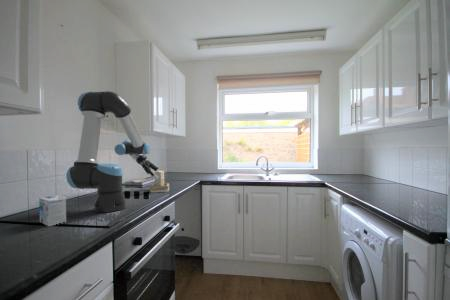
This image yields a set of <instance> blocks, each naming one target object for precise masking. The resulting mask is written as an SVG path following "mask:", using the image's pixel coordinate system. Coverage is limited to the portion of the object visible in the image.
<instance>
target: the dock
mask: <svg viewBox="0 0 450 300" xmlns="http://www.w3.org/2000/svg"><path fill="white" fill-rule="evenodd" d="M169 191H170V183H167V182H166V183H165V182H164V186H155V183H151V185H150V186H149V193H152V194H153V193H168V192H169Z"/></svg>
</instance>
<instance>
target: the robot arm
mask: <svg viewBox="0 0 450 300" xmlns="http://www.w3.org/2000/svg"><path fill="white" fill-rule="evenodd" d="M77 106H78V110H79V111H80V112H81V115H82V116H83V123H82V129H81V136H80V142H79V151H78V157H77V159H76V160H74V162H73V165H72V166H70V167H69V169H67V171H66V174H65V175H66V177H65V178H66V181H67V183H68V185H69V186H70V187H71V188H72V189H79V190H84V189H85V190H86V189H87V190H88V189H93V190H96V189H97V195H96V199H95V201H94V205H93V212H95V213H111V212H117V211H122V210H124V209H125V208H127V202H126V198H125V196H124V194H123V171H122V167H121V165H119V164H115V163H99V162H98V161H97V159H98V150H99V143H100V142H99V141H100V135H101V126H102V120H103V119H105V118H106V113H107V114H108V113H111V114H113V115H114V117H115V118H116V119H118V121H119V122H120V125H121V126H122V129H123V130H124V132H125V135H126V136H127V138H128V139H125V140H124V141H123V142H122V143H118V144H116V145H115V146H114V152H115V154H116V155H119V156H123V155H129V156H130V157H131V158H132V160H134V161H135V162H136V163H137V164H139V165H140V166H141V167H142V169H144V171H145V173H146V174H147V175H150V176H151V177H152V178H153V179H154V181H155V180H157V179H158V178H159V177H158V176H157V175H156V174H155V172H156V171H160V169H159V167H158V166H156V165H155V164H154V163H152V162H151V161H150V160H149V159H148V160H147V158H148V157H147V155H149V153H150V151H151V145H150V144H149V143H147V142H144V140H143V137H142V135H141V133H140V131H139V128H138V126H137V124H136V123H135V119H134V118H133V116H132V114H131V113H132V109H131V107H130V105H129V104H128V103H127V101H126V100H125V99H124V98H123V97H122V96H120V95H119V94H117V93H115V92H113V91H111V90H110V91H109V90H108V91H107V90H106V91H88V92H82V93H81V94H80V95H79V96H78V99H77Z"/></svg>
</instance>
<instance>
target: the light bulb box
mask: <svg viewBox="0 0 450 300" xmlns="http://www.w3.org/2000/svg"><path fill="white" fill-rule="evenodd" d="M66 199H67V197H65V196H60V195H57V194H53V195H50V196H43V197H39V199H38V200H39V202H38V203H39V204H38V205H39V223H42V224H43V225H45V226H47V227H52V226H56V224H57V225H60V224H59V223H61V224H64V223H63V222H65V223H67V200H66Z"/></svg>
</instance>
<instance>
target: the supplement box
mask: <svg viewBox="0 0 450 300" xmlns="http://www.w3.org/2000/svg"><path fill="white" fill-rule="evenodd" d="M154 173H155V174H156V175H157V176H158V177H159V178H158V179H157V180H155V179H154V184H155V186H164V183H165V170H159V171H156V172H155V171H154Z"/></svg>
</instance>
